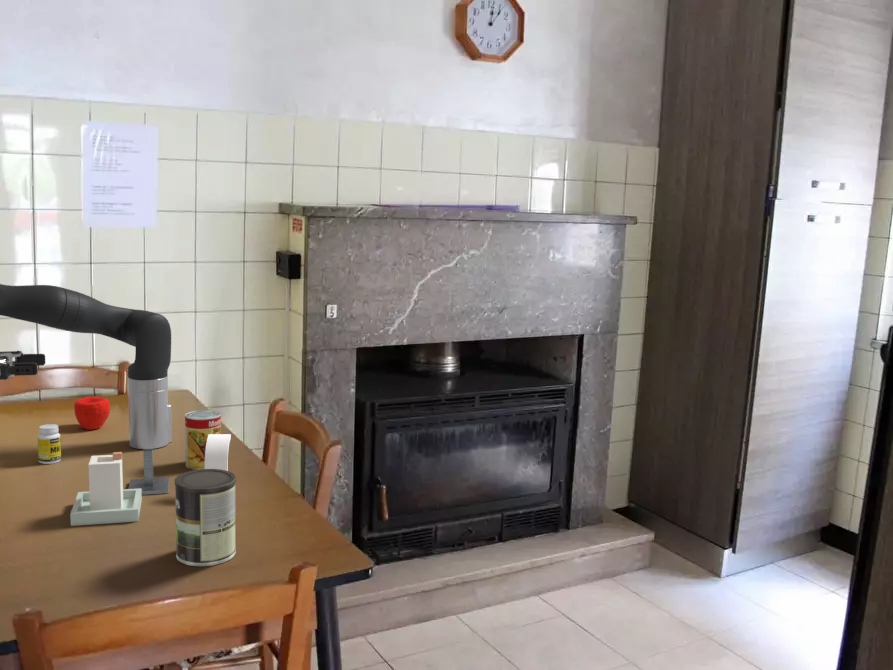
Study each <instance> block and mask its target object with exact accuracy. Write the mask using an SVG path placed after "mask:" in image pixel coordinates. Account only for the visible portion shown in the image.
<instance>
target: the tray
mask: <svg viewBox="0 0 893 670" xmlns="http://www.w3.org/2000/svg"><path fill="white" fill-rule="evenodd" d="M142 497H143V495H142V488H138V489H128V488H127V489H126V488H125V489H124V488H123V506H122V509H108V510H93V511H90V495H89V490H88V491H78V492H77V494H76V497H75V500H74V503H73V506H72V508H71V510H70V515H69V517H70V519H69V520H70V526H71V527H74V526H89V525H90V526H91V525H102V524H103V525H105V524H117V523H118V524H119V523H133V522H139V519H140V514H141V508H142V500H143V498H142Z"/></svg>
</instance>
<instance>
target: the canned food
mask: <svg viewBox="0 0 893 670" xmlns="http://www.w3.org/2000/svg"><path fill="white" fill-rule="evenodd" d="M221 423H222V422H221V413H220V412H219V411H216V410H211V409H209V410H207V409H203V410H202V409H201V410H194V411H190V412H187V413H185V414H184V427H185V429H184V430H185V431H184V432H185V433H184V434H185V436H184V437H185V446H184V447H185V467H186V468H187V469H189V470H192V471H194V470H200V469H205V450H206V443H207V438H208V435H209V434H222V432H221V431H222V429H221V428H222V427H221V426H222V425H221Z"/></svg>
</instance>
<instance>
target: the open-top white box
mask: <svg viewBox="0 0 893 670" xmlns="http://www.w3.org/2000/svg"><path fill="white" fill-rule="evenodd" d="M87 465H88V485H89V486H88V487H89V489H88V491H89V495H90V511H93V510H108V509H122V506H123V489H124V483H123V482H124V481H123V480H124V478H123V477H124V476H123V451H116V452H115V451H113V452H112V454H101V455H91V456H90V460H89V462H88V464H87Z"/></svg>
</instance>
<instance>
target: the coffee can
mask: <svg viewBox="0 0 893 670" xmlns="http://www.w3.org/2000/svg"><path fill="white" fill-rule="evenodd" d="M236 482H237V475H235V473H233V472H231V471H229V470H228V471H225V470H220V469H200V470H189V471H187V472H183V473H181V474H179V475H177V476H176V477H175V479H174V487H175V488H174V490H175V535H176V537H175V540H176V541H175V544H176V545H175V546H176V554H175V558H176V560H177V561H178V562H179V563H181V564H183V565H187V566H190V567H198V568H199V567H212V566H216V565H220V564H224V563H226V562H227V561H230V560H231V559H233V558H234V557H235V555H236V553H237V550H236Z"/></svg>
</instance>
